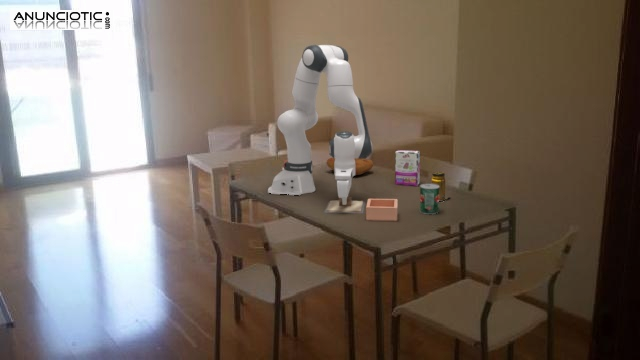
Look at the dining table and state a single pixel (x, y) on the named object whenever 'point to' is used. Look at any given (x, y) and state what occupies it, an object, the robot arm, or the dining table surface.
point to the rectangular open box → (381, 210)
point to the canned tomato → (429, 198)
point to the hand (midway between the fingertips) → (345, 202)
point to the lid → (345, 206)
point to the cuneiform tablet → (360, 165)
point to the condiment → (439, 183)
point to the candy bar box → (407, 168)
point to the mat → (345, 212)
